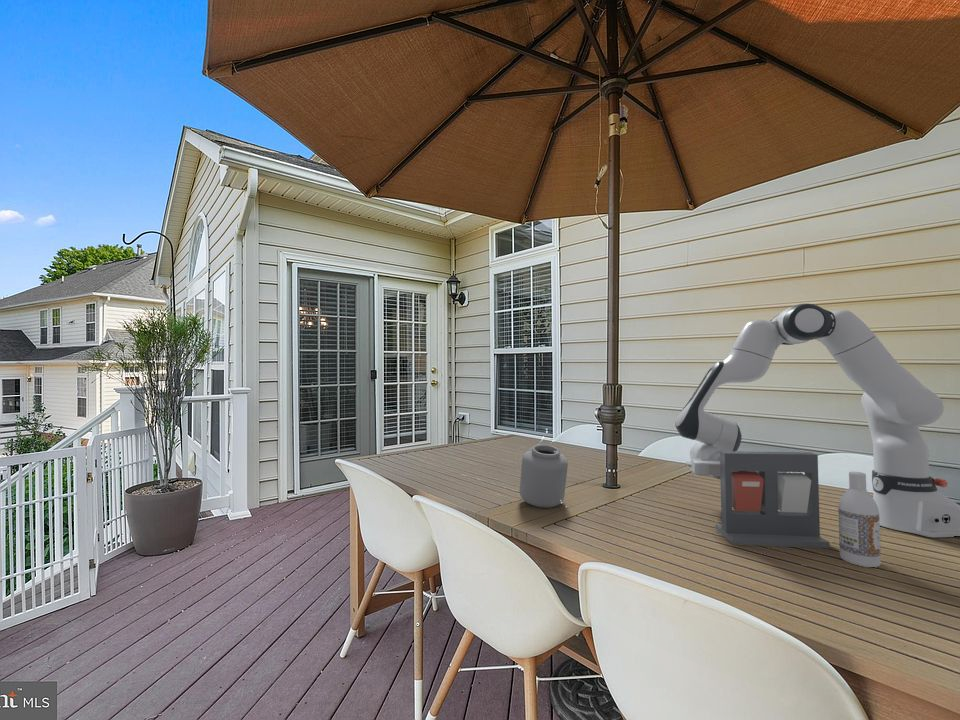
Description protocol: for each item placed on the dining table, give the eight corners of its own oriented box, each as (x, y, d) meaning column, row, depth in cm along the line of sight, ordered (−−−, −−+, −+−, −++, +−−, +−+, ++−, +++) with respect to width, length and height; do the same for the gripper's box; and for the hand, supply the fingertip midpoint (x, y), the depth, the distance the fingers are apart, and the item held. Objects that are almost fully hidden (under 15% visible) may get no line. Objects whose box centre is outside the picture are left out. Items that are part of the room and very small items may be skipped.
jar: (580, 510, 134) (579, 430, 135) (538, 516, 129) (537, 433, 130) (550, 494, 152) (549, 423, 152) (512, 499, 147) (511, 425, 147)
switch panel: (804, 532, 114) (802, 449, 115) (829, 548, 105) (826, 457, 105) (716, 529, 117) (714, 448, 118) (732, 544, 107) (730, 456, 108)
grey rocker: (797, 504, 113) (801, 472, 111) (806, 512, 109) (811, 480, 107) (772, 503, 114) (776, 472, 112) (781, 511, 110) (785, 479, 108)
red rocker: (752, 502, 114) (756, 471, 112) (760, 511, 110) (764, 480, 108) (728, 502, 115) (731, 471, 113) (735, 511, 111) (738, 479, 109)
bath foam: (875, 571, 92) (872, 478, 93) (835, 559, 98) (832, 472, 99) (885, 563, 96) (882, 473, 97) (846, 552, 102) (843, 468, 103)
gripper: (683, 452, 128) (700, 460, 115) (756, 453, 126) (783, 462, 112) (683, 473, 128) (701, 484, 115) (757, 475, 125) (784, 487, 112)
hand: (742, 473), depth 113 cm, fingers closed, pressing on red rocker
